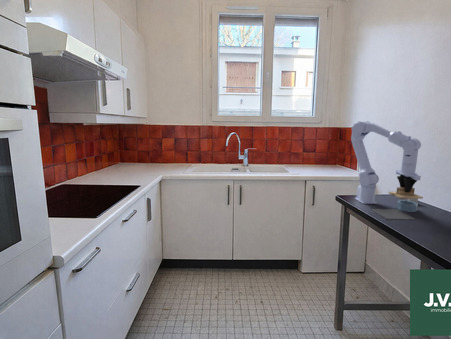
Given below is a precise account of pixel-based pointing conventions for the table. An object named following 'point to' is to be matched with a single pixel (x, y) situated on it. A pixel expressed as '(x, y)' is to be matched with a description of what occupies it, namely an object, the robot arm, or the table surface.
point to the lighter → (413, 200)
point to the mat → (393, 214)
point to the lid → (405, 194)
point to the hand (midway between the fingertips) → (405, 191)
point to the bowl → (407, 206)
